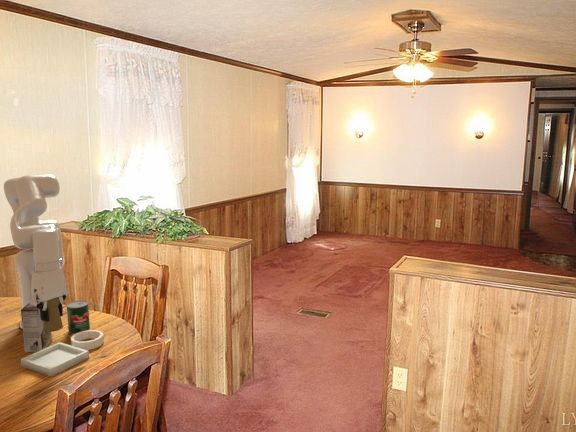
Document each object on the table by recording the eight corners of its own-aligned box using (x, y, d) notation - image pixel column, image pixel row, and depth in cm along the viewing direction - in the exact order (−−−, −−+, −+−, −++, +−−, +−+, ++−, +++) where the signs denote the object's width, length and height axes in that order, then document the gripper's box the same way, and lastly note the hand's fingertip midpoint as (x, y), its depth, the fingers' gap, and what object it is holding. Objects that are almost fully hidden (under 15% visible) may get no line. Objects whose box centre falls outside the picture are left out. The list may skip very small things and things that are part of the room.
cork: (55, 332, 159) (52, 301, 158) (39, 331, 161) (36, 299, 159) (66, 325, 165) (64, 295, 163) (51, 324, 167) (48, 293, 165)
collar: (65, 346, 177) (64, 338, 176) (89, 335, 187) (89, 328, 186) (85, 352, 172) (85, 344, 171) (109, 341, 182) (109, 333, 181)
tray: (21, 366, 162) (20, 359, 162) (60, 348, 175) (59, 342, 175) (50, 376, 155) (50, 369, 155) (89, 357, 168) (88, 350, 168)
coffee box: (35, 341, 181) (31, 300, 178) (52, 340, 182) (49, 300, 179) (24, 352, 172) (19, 309, 169) (42, 351, 173) (38, 309, 170)
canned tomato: (77, 335, 186) (75, 308, 184) (64, 331, 190) (61, 305, 188) (94, 328, 193) (92, 302, 191) (81, 324, 197) (79, 299, 195)
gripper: (62, 258, 168) (66, 308, 171) (16, 270, 154) (21, 324, 157) (77, 261, 165) (80, 311, 168) (31, 273, 150) (36, 329, 153)
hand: (52, 317), depth 162 cm, fingers closed on cork, 4 cm apart
